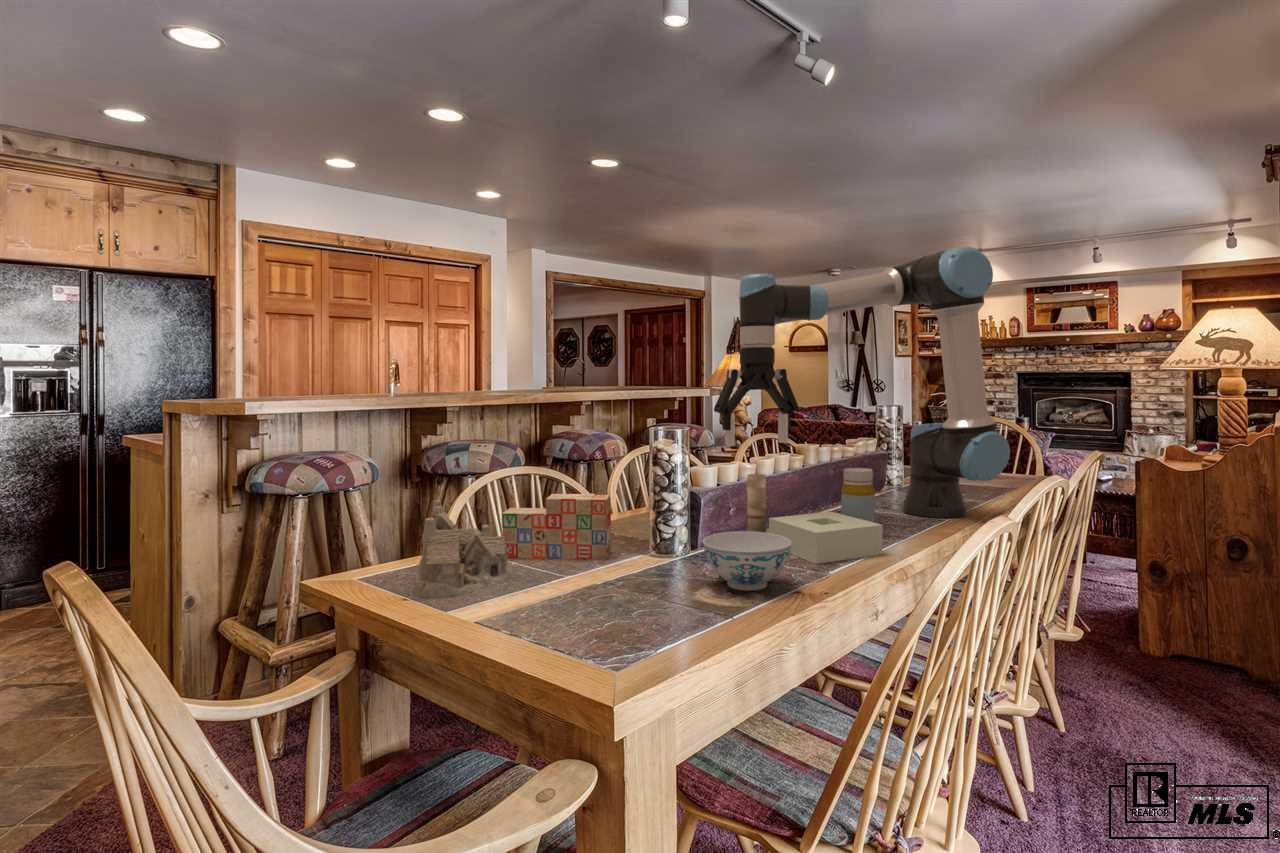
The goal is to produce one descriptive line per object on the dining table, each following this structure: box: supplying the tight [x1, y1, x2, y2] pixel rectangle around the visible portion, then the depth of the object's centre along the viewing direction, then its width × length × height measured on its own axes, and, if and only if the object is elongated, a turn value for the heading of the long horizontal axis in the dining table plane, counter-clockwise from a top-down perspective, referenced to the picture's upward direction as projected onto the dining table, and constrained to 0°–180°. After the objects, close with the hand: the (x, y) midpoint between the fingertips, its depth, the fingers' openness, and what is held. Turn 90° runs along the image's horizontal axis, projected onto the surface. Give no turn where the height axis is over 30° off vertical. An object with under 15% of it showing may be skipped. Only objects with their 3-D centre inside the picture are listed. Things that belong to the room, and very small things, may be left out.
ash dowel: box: [746, 473, 767, 533], centre depth 159 cm, size 4×4×14 cm
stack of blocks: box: [501, 493, 612, 560], centre depth 146 cm, size 21×6×12 cm, turn 84°
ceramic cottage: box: [413, 499, 509, 599], centre depth 127 cm, size 16×16×15 cm
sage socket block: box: [768, 511, 884, 565], centre depth 147 cm, size 16×16×6 cm
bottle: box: [840, 467, 876, 523], centre depth 158 cm, size 7×7×15 cm
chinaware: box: [702, 531, 792, 592], centre depth 123 cm, size 15×15×8 cm
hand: (756, 444), depth 158 cm, fingers open, 13 cm apart
